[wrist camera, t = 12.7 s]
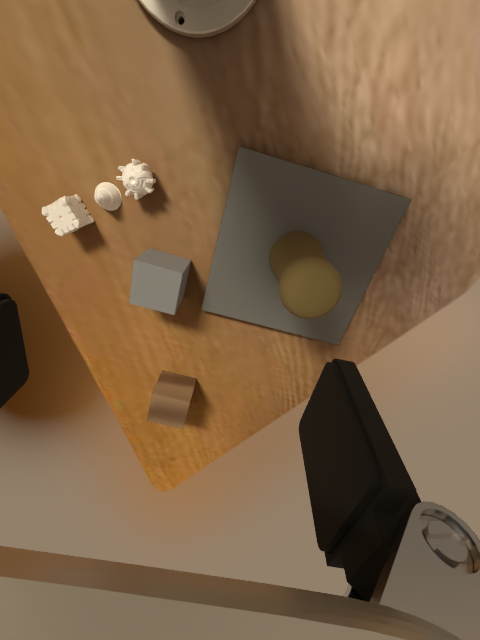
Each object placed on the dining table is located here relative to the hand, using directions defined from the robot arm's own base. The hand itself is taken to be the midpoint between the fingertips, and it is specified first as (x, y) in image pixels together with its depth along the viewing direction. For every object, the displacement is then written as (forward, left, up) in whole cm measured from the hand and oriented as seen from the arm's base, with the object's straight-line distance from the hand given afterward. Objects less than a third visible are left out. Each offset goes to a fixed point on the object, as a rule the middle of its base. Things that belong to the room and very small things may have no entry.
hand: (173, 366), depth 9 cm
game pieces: (+1, -13, -27) cm, 30 cm away
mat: (+2, +8, -26) cm, 28 cm away
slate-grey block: (+8, -6, -27) cm, 28 cm away
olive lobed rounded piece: (+2, +8, -26) cm, 27 cm away
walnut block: (+25, -2, -27) cm, 36 cm away
